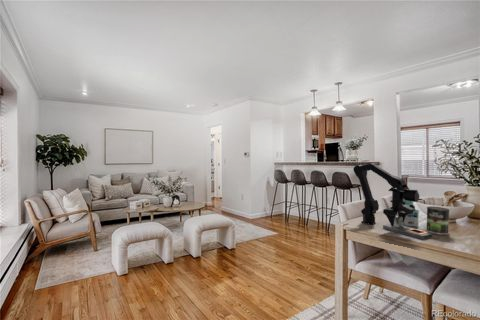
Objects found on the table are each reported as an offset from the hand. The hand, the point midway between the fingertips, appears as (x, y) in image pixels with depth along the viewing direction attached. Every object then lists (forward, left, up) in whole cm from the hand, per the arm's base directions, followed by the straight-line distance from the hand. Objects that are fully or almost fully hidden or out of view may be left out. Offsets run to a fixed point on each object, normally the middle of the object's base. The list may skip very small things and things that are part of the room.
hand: (397, 224), depth 147 cm
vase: (-12, +30, -3) cm, 33 cm away
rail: (+6, 0, -3) cm, 6 cm away
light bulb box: (-4, +20, -3) cm, 21 cm away
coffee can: (+13, +18, -3) cm, 22 cm away
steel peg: (0, 0, -3) cm, 3 cm away
